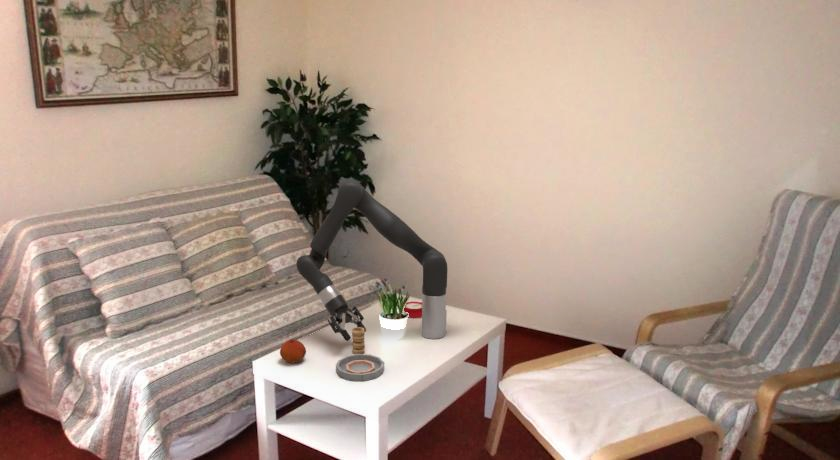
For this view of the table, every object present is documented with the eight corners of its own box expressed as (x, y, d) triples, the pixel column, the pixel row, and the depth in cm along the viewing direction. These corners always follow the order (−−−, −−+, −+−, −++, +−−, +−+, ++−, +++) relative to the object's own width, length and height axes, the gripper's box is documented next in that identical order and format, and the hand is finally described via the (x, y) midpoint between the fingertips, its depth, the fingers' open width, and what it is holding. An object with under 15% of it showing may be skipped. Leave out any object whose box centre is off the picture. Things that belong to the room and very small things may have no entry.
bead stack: (357, 348, 243) (357, 326, 241) (367, 351, 240) (366, 328, 238) (350, 353, 239) (349, 330, 237) (359, 356, 237) (359, 332, 235)
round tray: (357, 356, 236) (357, 350, 236) (392, 368, 227) (392, 361, 227) (327, 372, 224) (327, 366, 223) (363, 385, 215) (363, 378, 214)
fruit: (291, 368, 226) (290, 347, 224) (275, 361, 232) (274, 340, 230) (311, 360, 233) (310, 339, 231) (296, 353, 238) (295, 333, 237)
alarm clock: (396, 303, 280) (428, 292, 284) (399, 316, 282) (431, 305, 286) (403, 311, 271) (436, 300, 274) (406, 325, 272) (439, 314, 276)
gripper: (324, 299, 235) (349, 337, 231) (350, 289, 246) (374, 324, 242) (314, 310, 239) (338, 347, 235) (340, 299, 250) (363, 334, 247)
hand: (356, 336), depth 239 cm, fingers open, 8 cm apart
